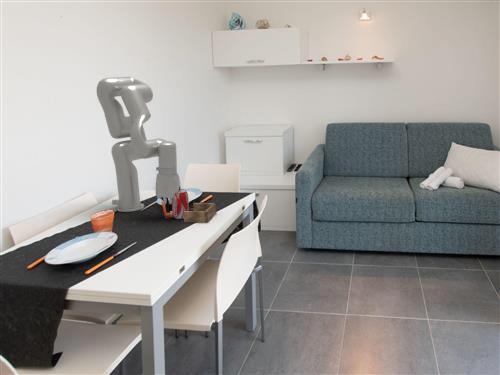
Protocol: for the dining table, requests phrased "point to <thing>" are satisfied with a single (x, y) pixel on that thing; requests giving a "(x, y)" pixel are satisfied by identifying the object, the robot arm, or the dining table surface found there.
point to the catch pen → (200, 213)
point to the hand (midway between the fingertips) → (169, 211)
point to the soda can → (180, 204)
